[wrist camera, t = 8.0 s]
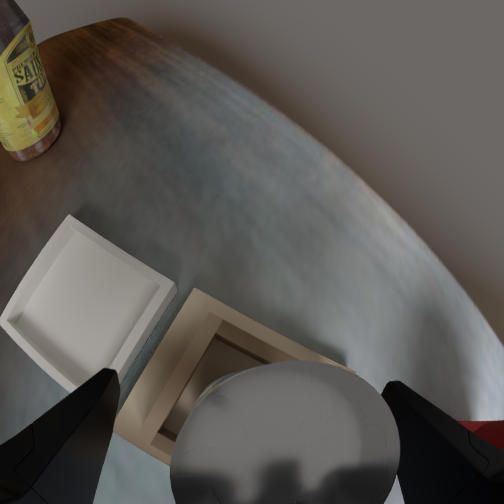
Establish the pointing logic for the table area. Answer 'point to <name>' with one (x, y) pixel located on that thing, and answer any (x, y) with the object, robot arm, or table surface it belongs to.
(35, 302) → the tray
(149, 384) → the wooden socket base
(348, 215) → the table surface
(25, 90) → the sauce bottle
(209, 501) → the cylinder
